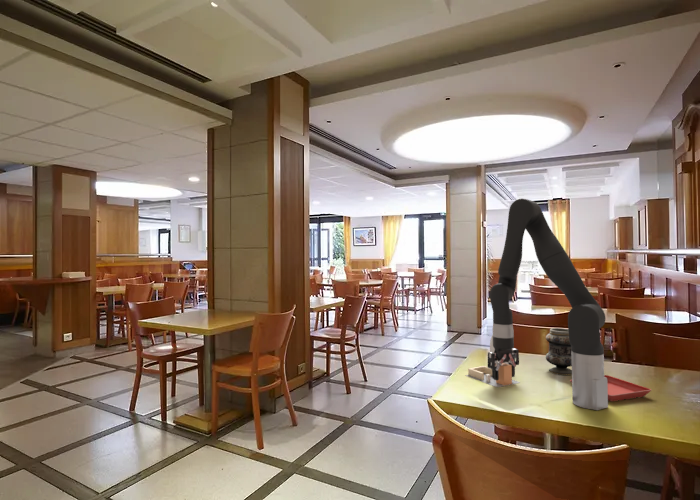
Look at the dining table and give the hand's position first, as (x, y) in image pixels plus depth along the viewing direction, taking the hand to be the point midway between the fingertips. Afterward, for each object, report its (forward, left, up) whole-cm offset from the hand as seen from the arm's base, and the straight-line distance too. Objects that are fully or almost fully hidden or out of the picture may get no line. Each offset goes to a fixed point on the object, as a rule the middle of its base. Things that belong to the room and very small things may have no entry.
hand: (503, 378), depth 151 cm
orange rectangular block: (0, 0, -2) cm, 2 cm away
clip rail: (+6, 0, -3) cm, 7 cm away
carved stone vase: (+1, -35, -3) cm, 35 cm away
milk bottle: (+16, -15, -3) cm, 22 cm away
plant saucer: (-23, -27, -3) cm, 36 cm away
